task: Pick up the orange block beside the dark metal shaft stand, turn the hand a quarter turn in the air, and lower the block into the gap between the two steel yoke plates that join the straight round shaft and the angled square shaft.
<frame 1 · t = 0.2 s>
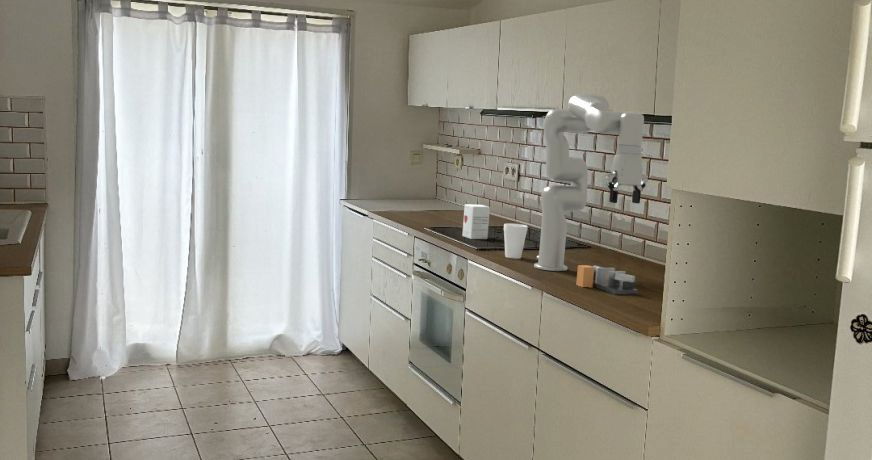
hand: (624, 202, 297), 30 cm above the counter, fingers open, 9 cm apart
shaft stand: (609, 288, 309), on the counter
orange block: (584, 286, 310), on the counter
supplement box: (474, 238, 414), on the counter
foam cup: (513, 257, 364), on the counter
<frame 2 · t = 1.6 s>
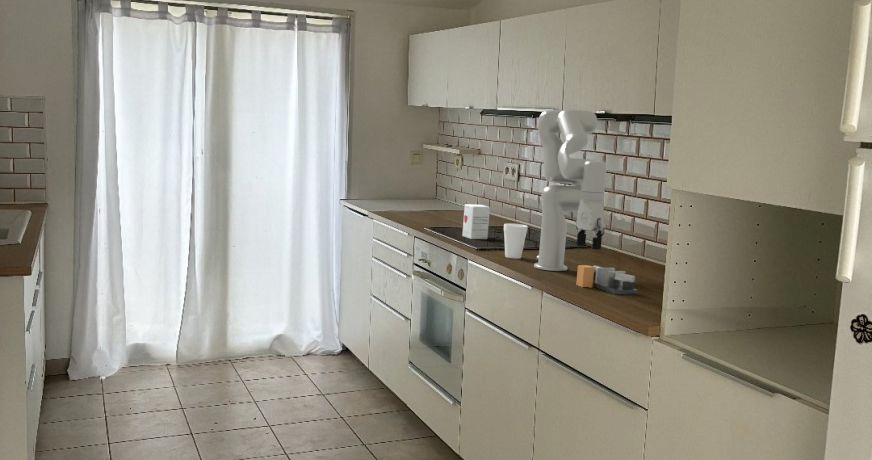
hand: (588, 247, 307), 14 cm above the counter, fingers open, 9 cm apart
nothing on the counter moved.
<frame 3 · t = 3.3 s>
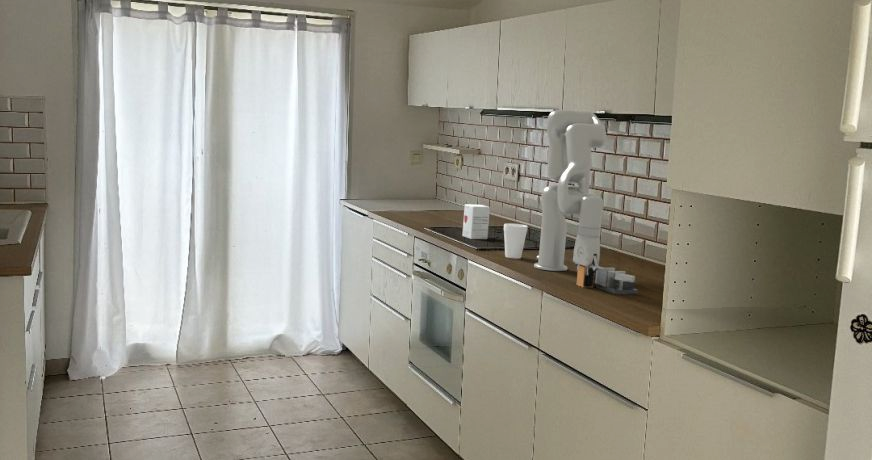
hand: (584, 284, 310), 1 cm above the counter, fingers closed on orange block, 4 cm apart
orange block: (584, 286, 310), on the counter, touching gripper
everything else where it was.
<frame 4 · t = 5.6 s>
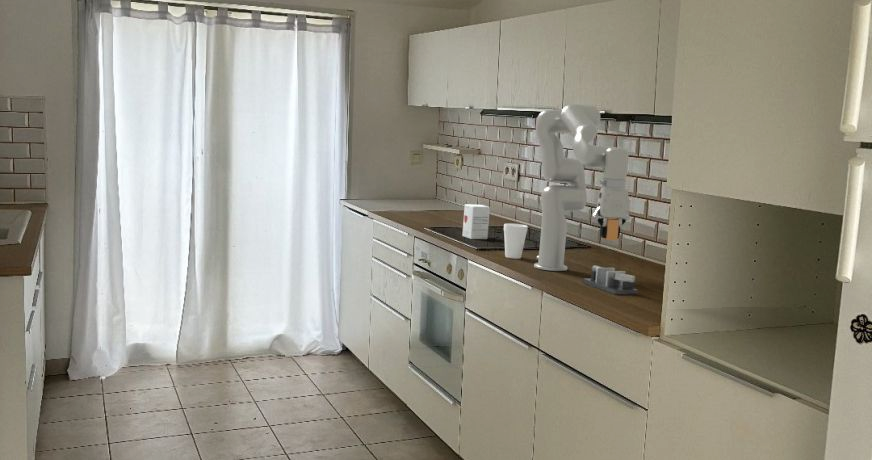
hand: (609, 237, 307), 18 cm above the counter, fingers closed on orange block, 4 cm apart
orange block: (609, 239, 307), point 17 cm above the counter, touching gripper
everything else where it was.
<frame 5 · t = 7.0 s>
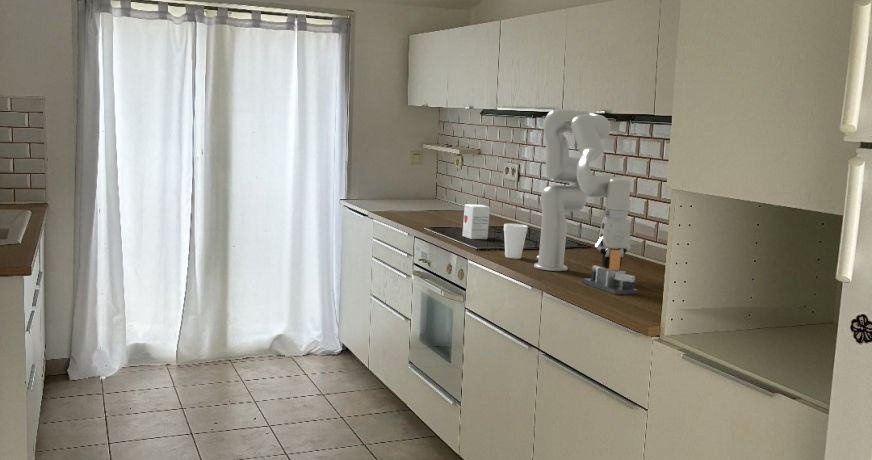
hand: (611, 267, 308), 7 cm above the counter, fingers closed on orange block, 4 cm apart
orange block: (611, 269, 308), point 7 cm above the counter, touching gripper
everything else where it was.
when the fingers open (3 cm above the counter, at t = 8.1 s): orange block drops 1 cm, resting on shaft stand.
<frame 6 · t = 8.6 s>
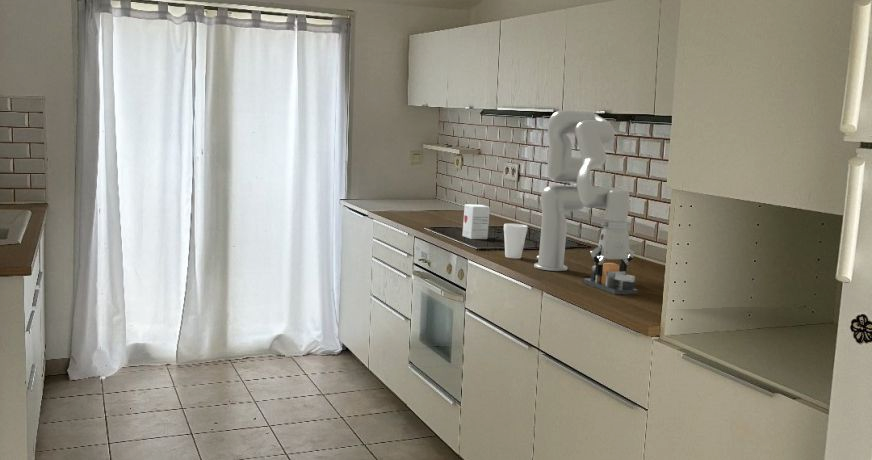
hand: (610, 275, 308), 4 cm above the counter, fingers open, 9 cm apart
orange block: (609, 283, 309), point 1 cm above the counter, touching shaft stand
everything else where it was.
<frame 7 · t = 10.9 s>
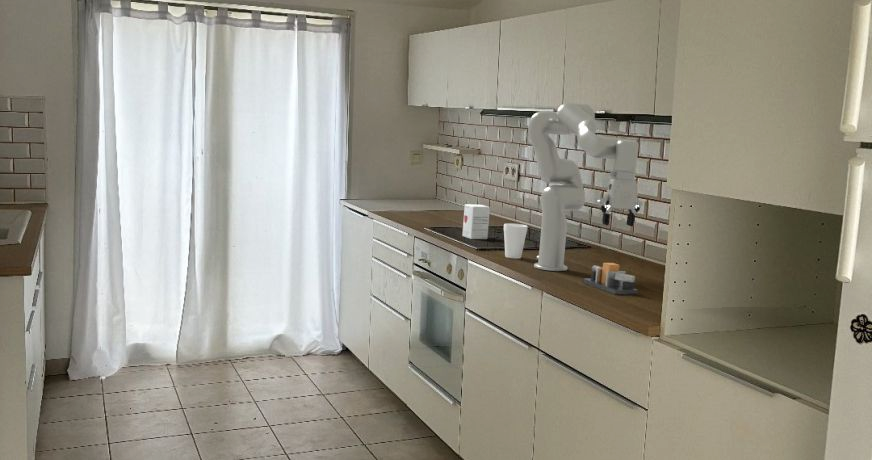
hand: (617, 225, 312), 21 cm above the counter, fingers open, 9 cm apart
nothing on the counter moved.
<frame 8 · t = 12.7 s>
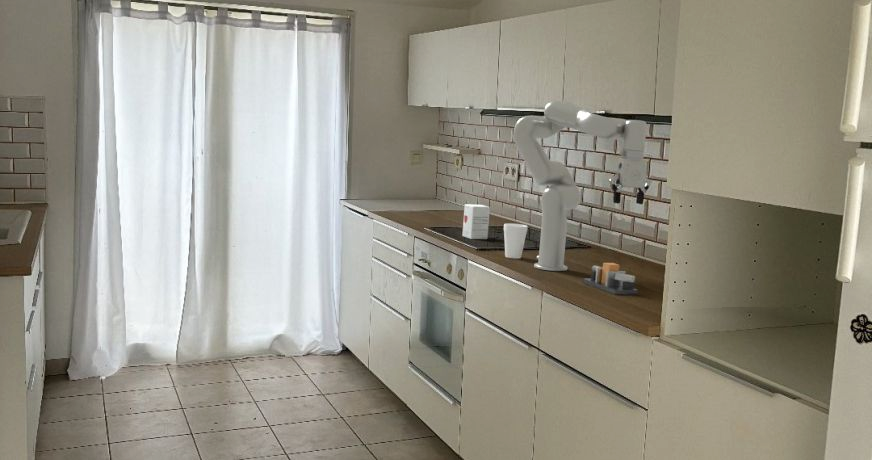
hand: (628, 203, 320), 28 cm above the counter, fingers open, 9 cm apart
nothing on the counter moved.
at the end: orange block 0.1 cm off-centre on the shaft stand, point 1.5 cm above the shaft stand's base; orange block tilted 0°; the gripper is holding nothing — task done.
